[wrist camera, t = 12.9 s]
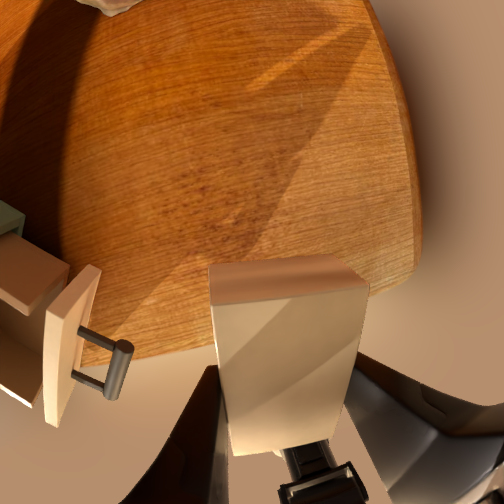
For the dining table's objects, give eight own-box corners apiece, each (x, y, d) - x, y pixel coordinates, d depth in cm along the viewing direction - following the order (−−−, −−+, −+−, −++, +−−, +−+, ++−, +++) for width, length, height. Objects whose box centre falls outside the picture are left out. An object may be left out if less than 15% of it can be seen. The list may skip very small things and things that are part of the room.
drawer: (154, 293, 19) (136, 353, 13) (118, 393, 22) (105, 448, 15) (-17, 201, 14) (-69, 221, 8) (-22, 313, 17) (-55, 348, 10)
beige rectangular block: (208, 263, 8) (209, 304, 6) (331, 252, 9) (371, 284, 7) (227, 411, 11) (233, 456, 8) (314, 397, 11) (333, 437, 9)
